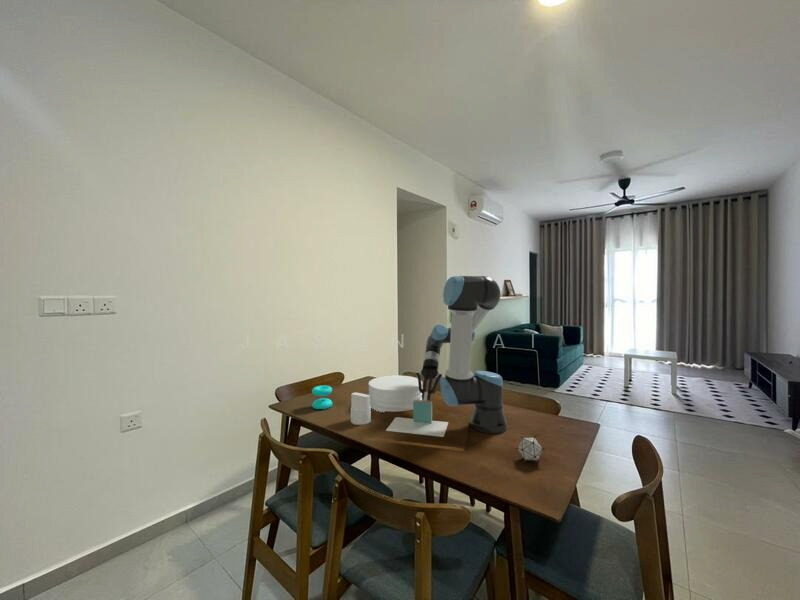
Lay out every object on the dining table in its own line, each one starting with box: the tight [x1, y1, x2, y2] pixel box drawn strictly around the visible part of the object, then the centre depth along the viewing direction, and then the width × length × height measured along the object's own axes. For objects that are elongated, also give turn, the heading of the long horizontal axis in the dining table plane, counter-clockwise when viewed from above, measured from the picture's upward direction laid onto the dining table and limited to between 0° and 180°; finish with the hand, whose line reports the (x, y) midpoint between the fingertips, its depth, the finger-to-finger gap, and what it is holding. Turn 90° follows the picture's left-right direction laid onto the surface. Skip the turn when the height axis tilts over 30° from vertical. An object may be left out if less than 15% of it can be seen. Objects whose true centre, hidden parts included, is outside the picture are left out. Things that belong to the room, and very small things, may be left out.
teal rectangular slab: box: [412, 400, 433, 423], centre depth 145 cm, size 8×2×9 cm, turn 74°
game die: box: [514, 434, 546, 463], centre depth 113 cm, size 9×8×10 cm
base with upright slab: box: [350, 392, 372, 426], centre depth 150 cm, size 9×9×12 cm
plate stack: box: [368, 374, 424, 414], centre depth 172 cm, size 28×28×12 cm
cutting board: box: [385, 416, 449, 438], centre depth 140 cm, size 24×15×1 cm, turn 74°
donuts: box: [311, 385, 333, 410], centre depth 168 cm, size 10×10×10 cm
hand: (424, 406), depth 150 cm, fingers closed
